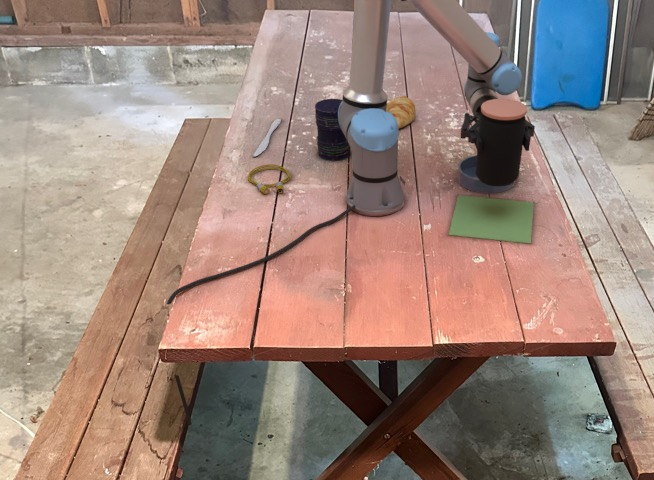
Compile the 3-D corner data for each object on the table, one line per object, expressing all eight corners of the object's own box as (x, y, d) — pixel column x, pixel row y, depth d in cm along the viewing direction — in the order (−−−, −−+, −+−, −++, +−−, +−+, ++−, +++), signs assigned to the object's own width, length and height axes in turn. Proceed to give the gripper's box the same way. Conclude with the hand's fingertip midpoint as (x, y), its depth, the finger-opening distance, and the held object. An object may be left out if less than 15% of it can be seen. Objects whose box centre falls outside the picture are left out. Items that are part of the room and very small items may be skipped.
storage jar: (313, 149, 210) (310, 101, 200) (345, 144, 212) (343, 96, 203) (323, 163, 202) (320, 114, 193) (355, 158, 205) (354, 109, 196)
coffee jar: (514, 166, 177) (522, 97, 166) (522, 187, 169) (531, 116, 158) (472, 167, 177) (477, 98, 166) (478, 188, 169) (484, 117, 157)
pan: (507, 197, 187) (508, 185, 185) (450, 187, 192) (450, 175, 189) (520, 171, 199) (522, 159, 196) (466, 162, 203) (467, 150, 201)
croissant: (405, 142, 221) (417, 122, 216) (377, 127, 219) (388, 106, 214) (411, 114, 237) (423, 94, 232) (385, 99, 235) (396, 79, 230)
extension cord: (238, 193, 189) (237, 186, 188) (256, 166, 201) (255, 160, 200) (281, 196, 187) (281, 190, 186) (297, 169, 199) (296, 163, 198)
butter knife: (284, 118, 226) (275, 117, 226) (260, 156, 205) (250, 155, 205) (284, 120, 226) (275, 119, 226) (260, 158, 205) (250, 157, 206)
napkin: (530, 244, 169) (530, 242, 169) (448, 235, 172) (448, 234, 172) (533, 203, 185) (533, 202, 184) (458, 195, 188) (458, 194, 188)
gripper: (529, 121, 184) (550, 159, 166) (441, 123, 182) (454, 162, 165) (532, 93, 179) (555, 129, 162) (443, 95, 178) (455, 132, 160)
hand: (504, 146), depth 163 cm, fingers closed on coffee jar, 11 cm apart
